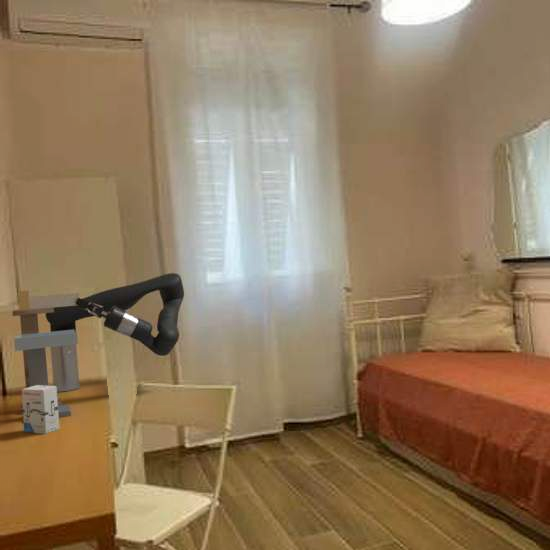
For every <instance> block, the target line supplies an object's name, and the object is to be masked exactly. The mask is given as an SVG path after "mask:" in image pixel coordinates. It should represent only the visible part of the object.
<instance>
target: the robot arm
mask: <svg viewBox="0 0 550 550" xmlns="http://www.w3.org/2000/svg"><path fill="white" fill-rule="evenodd" d="M156 291H159V295H160V298H161V300H162V305H163V306H162V307H163V308H161V310H160V311H159V314H158V317H157V321H156V322H157V323H156V329H157V332H158V333H157V335H156V336H154V335H152V331H153V325H152V323H150V322H149V321H147V320H144V319H142V318H140V317H137V316H136V315H134V314H133V313H132V312H129V311H127V310H129V309H132V308H133V307H134V306H135V305H136V304H137V303H139V301H140V300H142V298H143V297H145V296H147V295H148V294H151V293H153V292H156ZM184 297H185V290H184V285H183V281H182V277H181V275H180V274H178V273H175V272H174V273H173V272H172V273H165V274H162V275H159V276H155V277H153V278H150V279H147V280H144V281H141V282H140V281H139V282H136V283H132V284H129V285H124V286H119V287H115V288H110V289H106V290H104V291H100V292H97V293H95V294H91V295H88V296H86V297H84V298H80V297H79V298H78V299H77V301H76V303H75V304H76V305H75V306H64V307H54V312H52V313H45V318H46V321H47V322H48V323H49V326H50V327H49V328H50V332H55V331H64V330H75V332H77V325H76V322H77V321H79V320H81V319H86V318H91V317H96V318H98V319H101V318H104V319H105V320H104V322H103V327H105V328H107V329H109V330H112V331H114V332H116V333H119V334H120V335H122V336H127V337H130V338H132V339H133V340H136V341H138V342H140V343H141V344H143V345H144V346H145V347H146V348H147V349H149V351H151V352H152V353H154V354H155V355H157V356H161V357H165V356H168V355H169V354H170V353H171V352H172V350H173V348H174V347H175V346H176V344H177V343H178V341H179V339H180V332H179V329H178V317H179V311H180V308H181V305H182V302H183V300H184ZM49 348H50V359H51V360H50V361H51V371H52V372H51V374H52V384H53V385H52V386H56V387H57V393H58V392H60V393H61V392H68V391H74V390H77V389H80V374H79V364H78V363H79V362H78V352H77V351H78V350H77V344H72V345H63V346H55V347H49Z"/></svg>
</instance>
